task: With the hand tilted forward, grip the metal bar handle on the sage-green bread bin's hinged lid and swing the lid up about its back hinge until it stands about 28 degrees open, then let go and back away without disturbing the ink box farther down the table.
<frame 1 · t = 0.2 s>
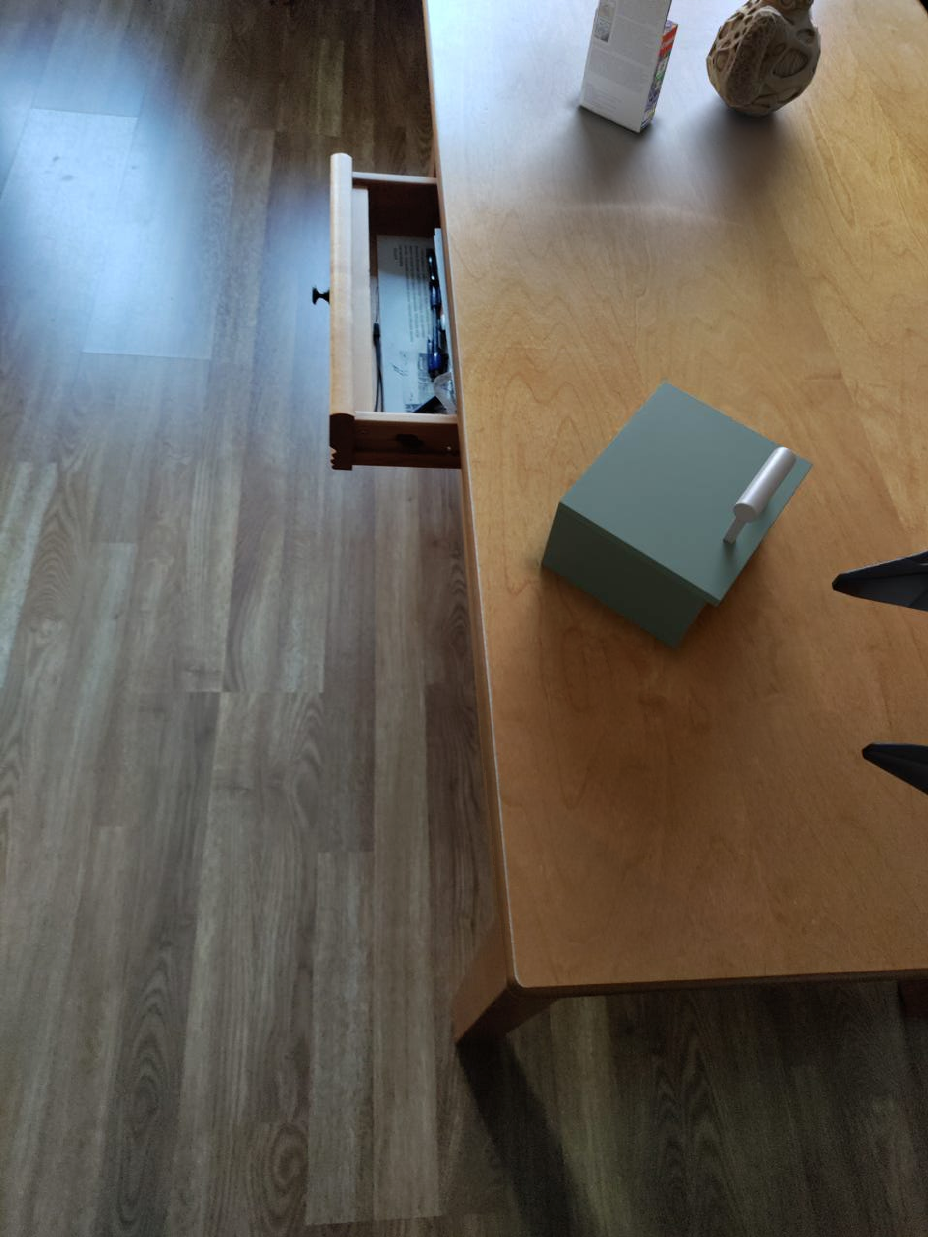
hand: (849, 661, 42), 17 cm above the table, tool horizontal, fingers open, 9 cm apart
bin lid: (697, 466, 58), point 9 cm above the table, hinge at 0.0°
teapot: (743, 109, 97), on the table
bread bin: (654, 541, 66), on the table
ink box: (614, 115, 94), on the table
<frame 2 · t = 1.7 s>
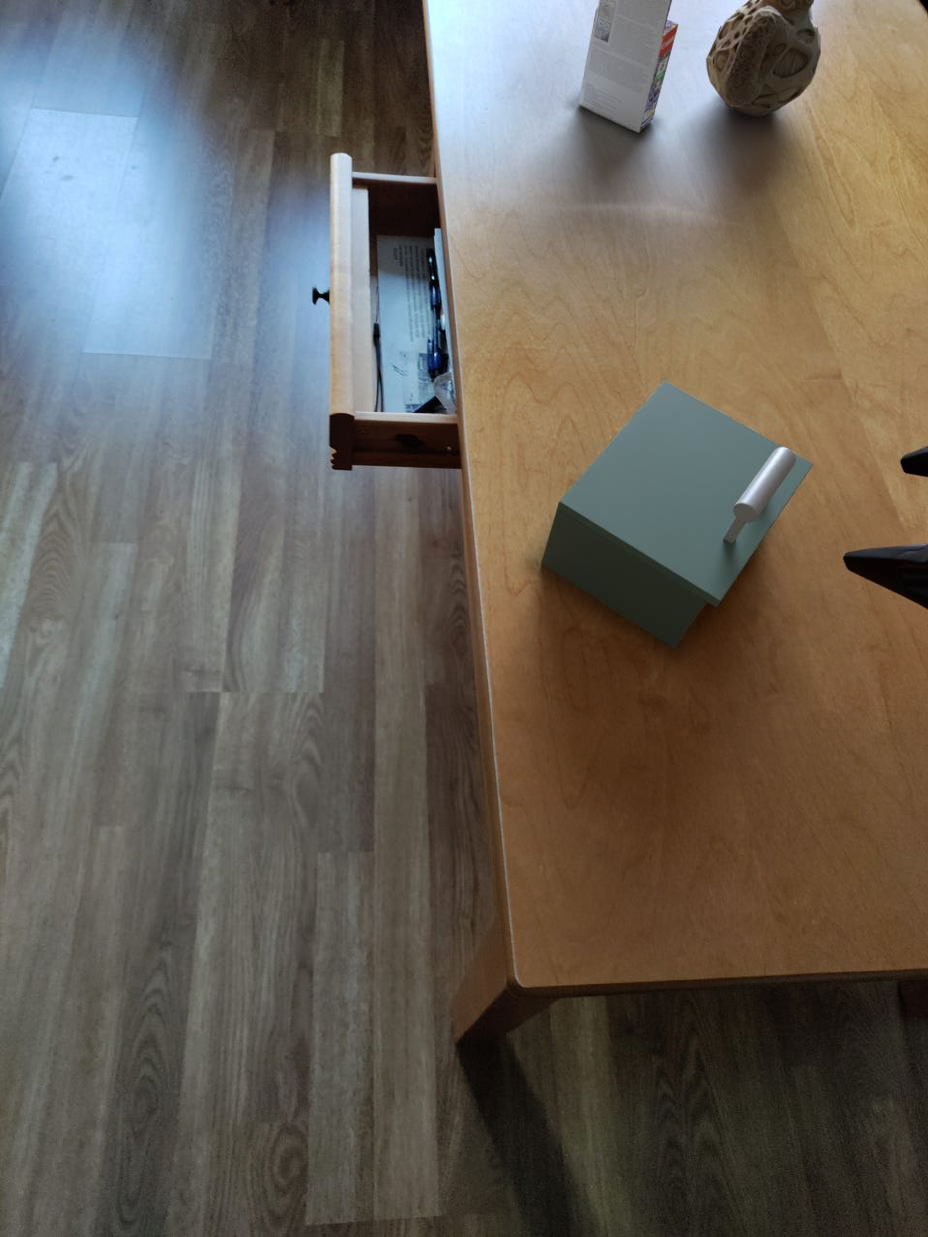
hand: (875, 511, 51), 14 cm above the table, tool tilted 45°, fingers open, 9 cm apart
nothing on the table moved.
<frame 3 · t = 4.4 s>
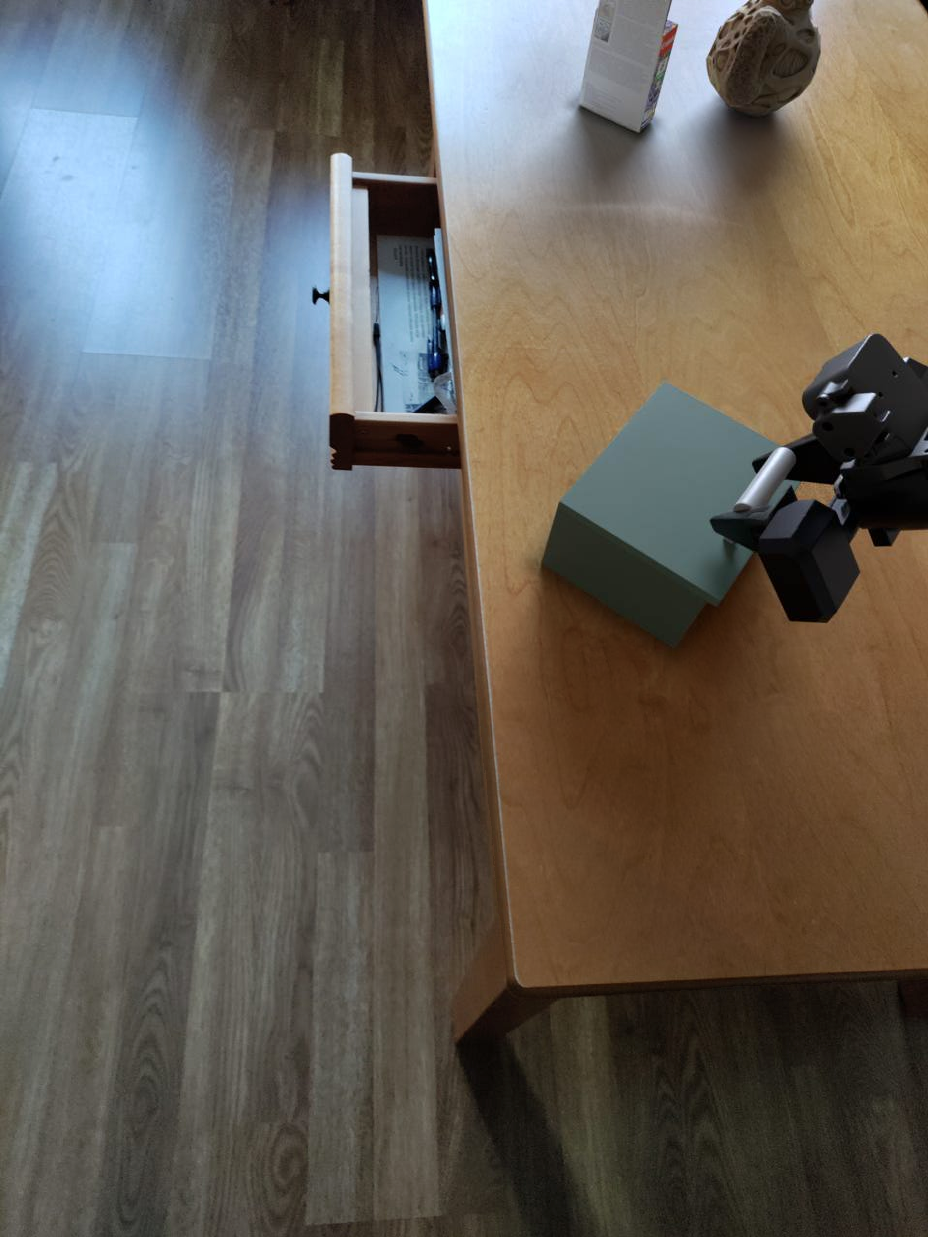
hand: (734, 494, 58), 9 cm above the table, tool tilted 45°, fingers closed on bin lid, 6 cm apart
bin lid: (697, 466, 58), point 9 cm above the table, hinge at 0.0°, touching gripper
everything else where it was.
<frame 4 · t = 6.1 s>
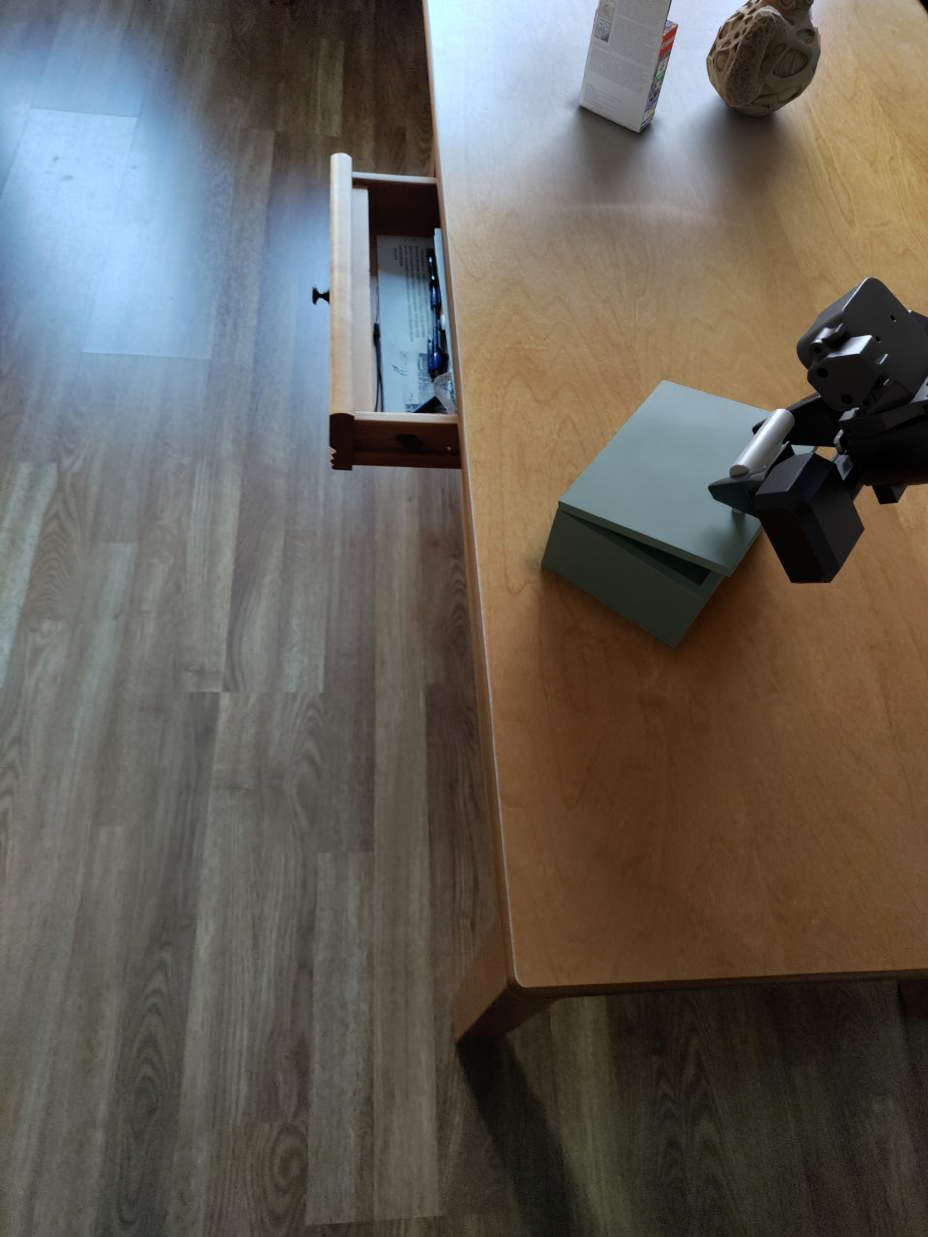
hand: (733, 461, 56), 11 cm above the table, tool tilted 40°, fingers closed on bin lid, 6 cm apart
bin lid: (695, 445, 57), point 11 cm above the table, hinge at 15.3°, touching gripper
everything else where it was.
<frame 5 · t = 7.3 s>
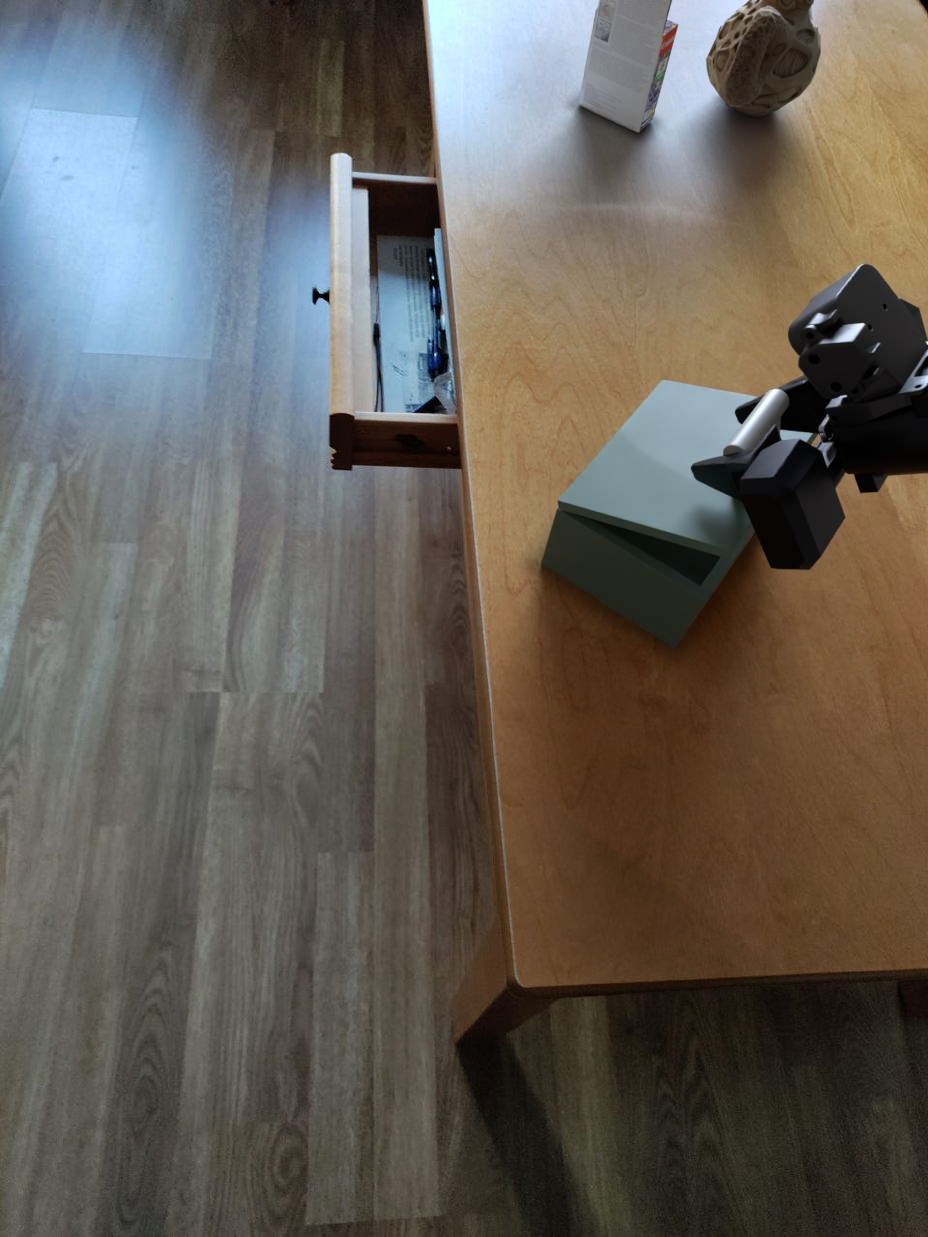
hand: (716, 442, 55), 12 cm above the table, tool tilted 45°, fingers closed on bin lid, 6 cm apart
bin lid: (691, 434, 56), point 12 cm above the table, hinge at 22.6°, touching gripper
everything else where it was.
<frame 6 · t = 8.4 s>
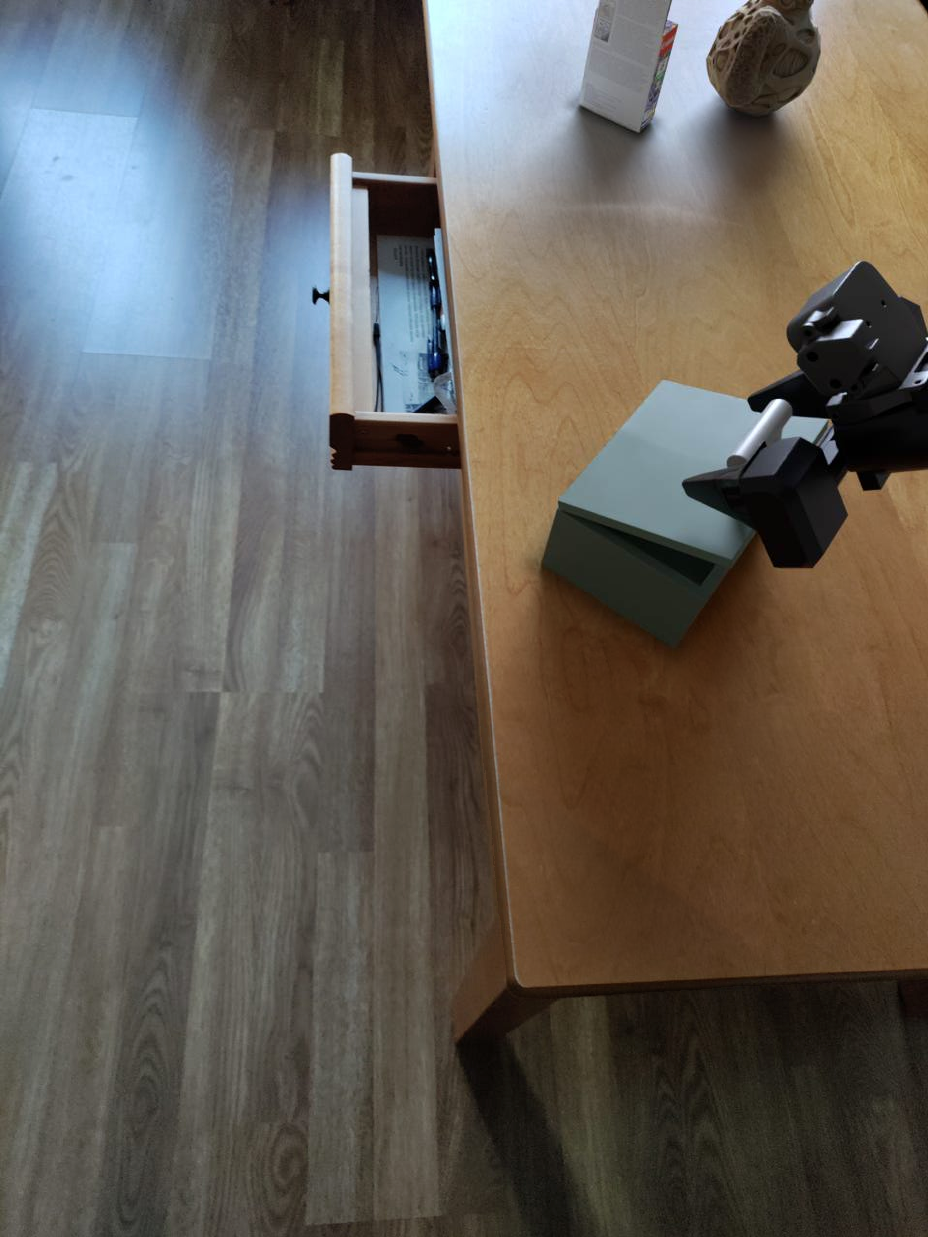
hand: (718, 444, 55), 12 cm above the table, tool tilted 45°, fingers open, 9 cm apart
bin lid: (693, 440, 56), point 11 cm above the table, hinge at 18.9°
everything else where it was.
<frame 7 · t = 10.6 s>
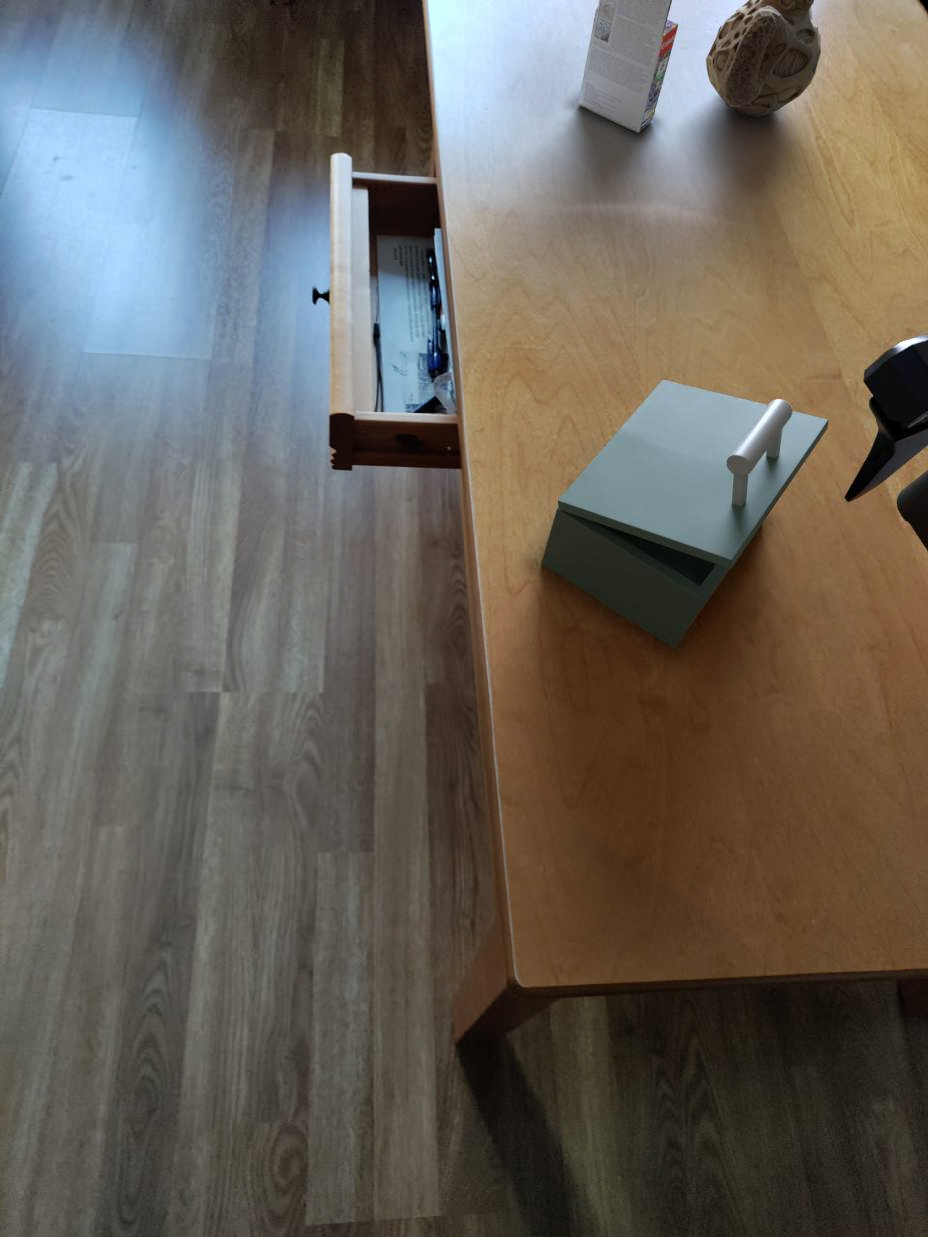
hand: (892, 562, 51), 12 cm above the table, tool pointing down, fingers open, 9 cm apart
nothing on the table moved.
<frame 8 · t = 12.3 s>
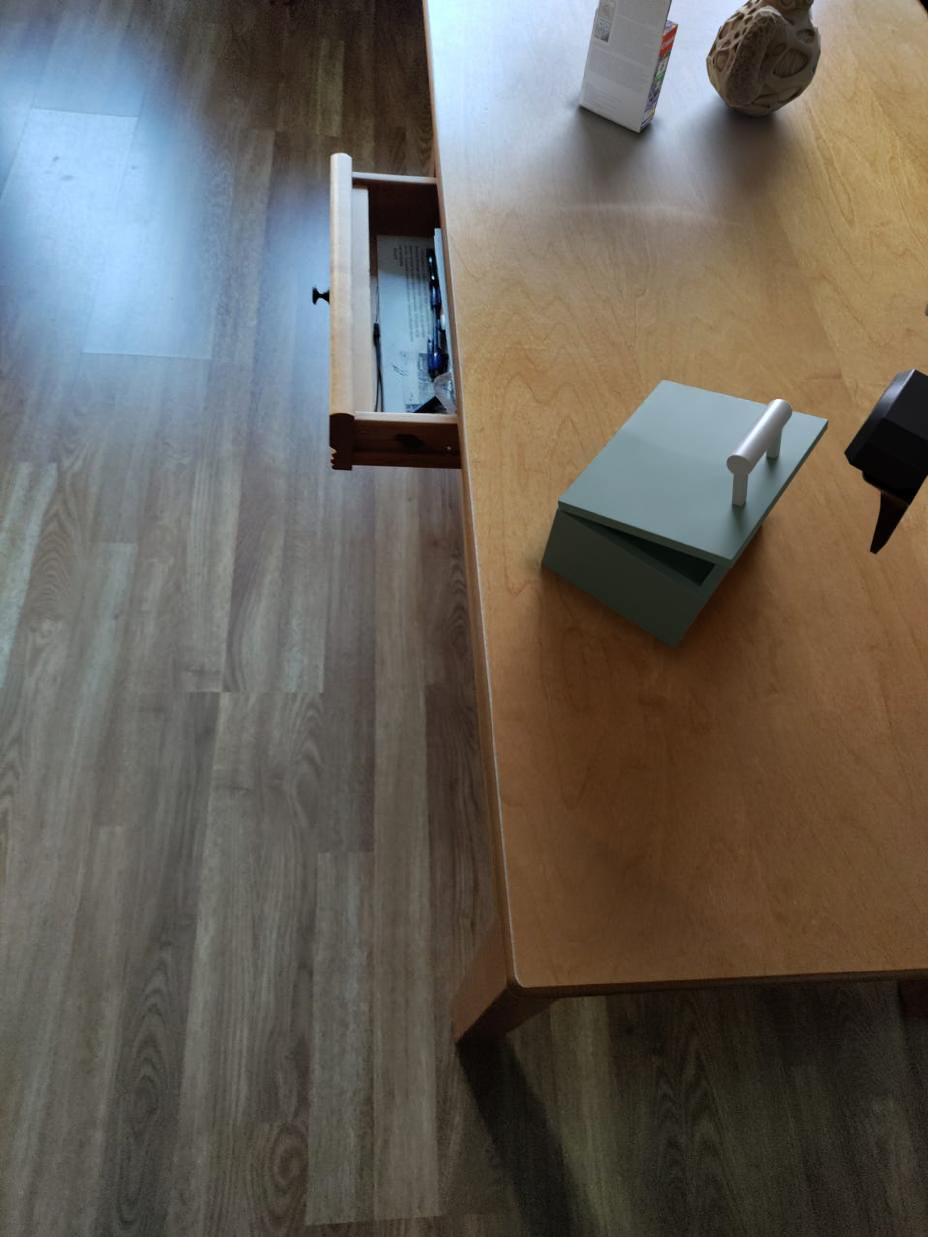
nothing on the table moved.
at the end: bin lid at +19° (first picture: +0°); ink box moved 0.2 cm from its start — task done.
